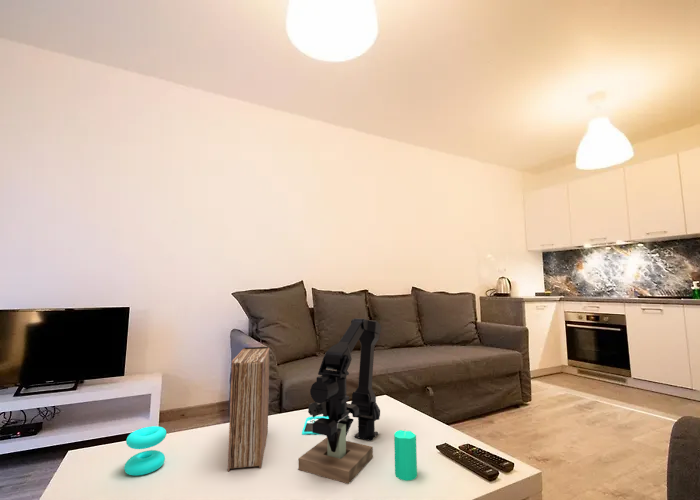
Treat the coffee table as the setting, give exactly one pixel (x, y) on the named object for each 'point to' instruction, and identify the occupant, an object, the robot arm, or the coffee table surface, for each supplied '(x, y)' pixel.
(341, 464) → the walnut well block
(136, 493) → the coffee table surface
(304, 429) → the handheld game console
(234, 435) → the book
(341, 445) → the sage peg
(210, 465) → the coffee table surface
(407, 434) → the candle
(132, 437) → the donuts
